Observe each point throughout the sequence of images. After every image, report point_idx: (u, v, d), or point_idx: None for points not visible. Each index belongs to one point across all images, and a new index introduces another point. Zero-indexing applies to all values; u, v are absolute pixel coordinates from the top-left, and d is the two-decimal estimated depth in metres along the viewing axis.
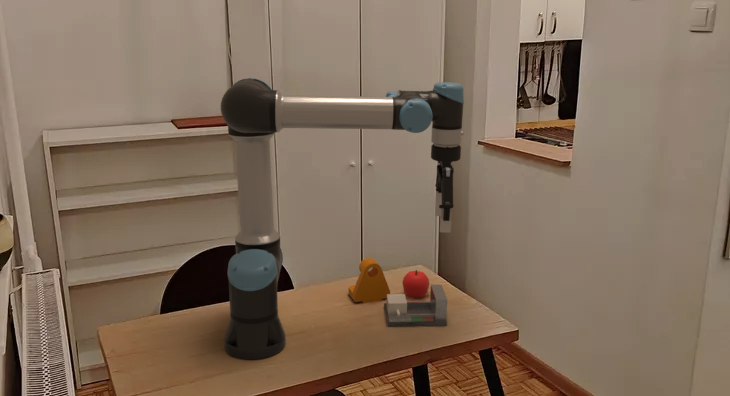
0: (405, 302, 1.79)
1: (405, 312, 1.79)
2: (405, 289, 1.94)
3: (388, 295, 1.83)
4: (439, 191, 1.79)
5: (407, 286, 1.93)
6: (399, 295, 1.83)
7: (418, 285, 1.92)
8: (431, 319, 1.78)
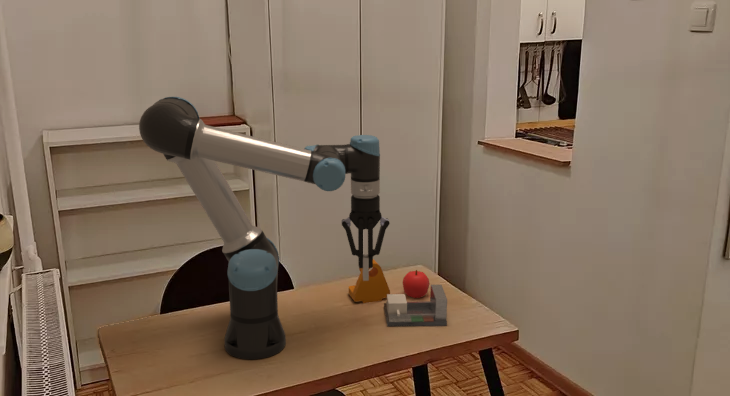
0: (405, 302, 1.79)
1: (405, 312, 1.79)
2: (405, 289, 1.94)
3: (388, 295, 1.83)
4: (368, 254, 1.78)
5: (407, 286, 1.93)
6: (399, 295, 1.83)
7: (418, 285, 1.92)
8: (431, 319, 1.78)
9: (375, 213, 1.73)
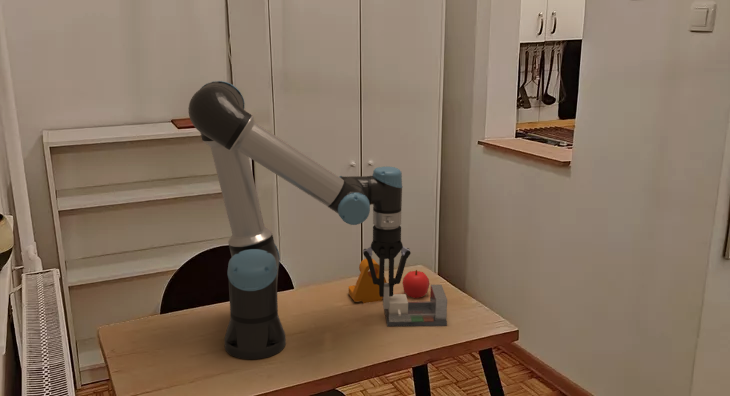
0: (406, 302, 1.79)
1: (406, 312, 1.79)
2: (405, 289, 1.94)
3: None
4: (388, 283, 1.80)
5: (407, 286, 1.93)
6: (400, 295, 1.83)
7: (418, 285, 1.92)
8: (431, 319, 1.78)
9: (396, 243, 1.75)
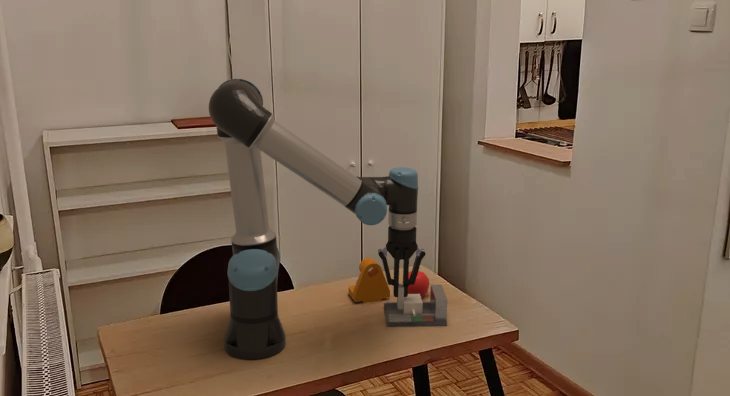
0: (420, 302, 1.79)
1: (420, 312, 1.79)
2: None
3: None
4: (403, 283, 1.80)
5: None
6: (415, 295, 1.83)
7: (418, 285, 1.92)
8: (431, 319, 1.78)
9: (412, 244, 1.76)
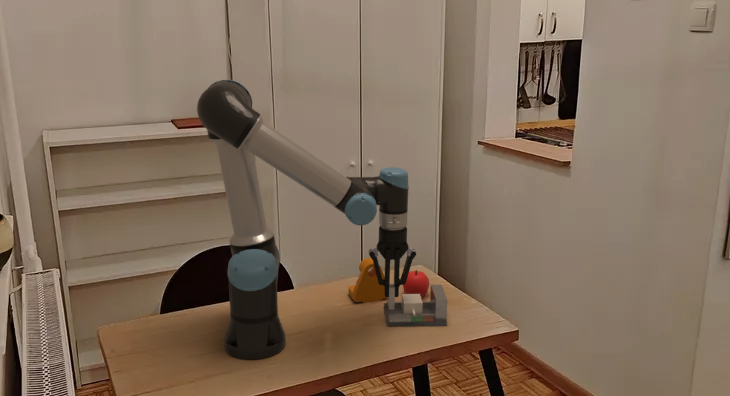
0: (420, 302, 1.79)
1: (420, 312, 1.79)
2: (405, 289, 1.94)
3: (403, 295, 1.83)
4: (394, 284, 1.80)
5: (407, 286, 1.93)
6: (415, 295, 1.83)
7: (418, 285, 1.92)
8: (431, 319, 1.78)
9: (402, 244, 1.76)
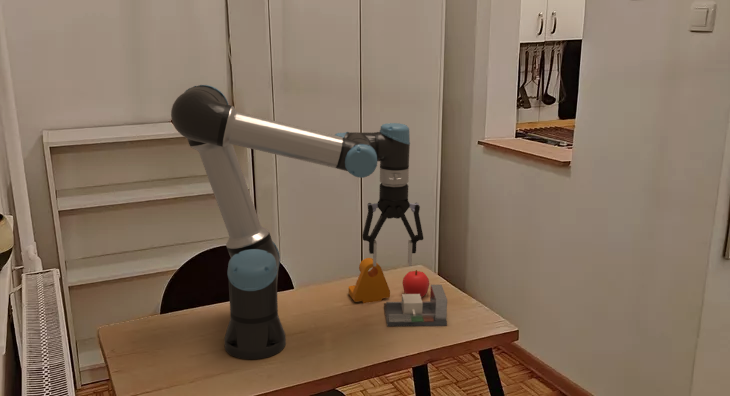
0: (420, 302, 1.79)
1: (420, 312, 1.79)
2: (405, 289, 1.94)
3: (403, 295, 1.83)
4: (411, 239, 1.77)
5: (407, 286, 1.93)
6: (415, 295, 1.83)
7: (418, 285, 1.92)
8: (431, 319, 1.78)
9: (402, 203, 1.72)
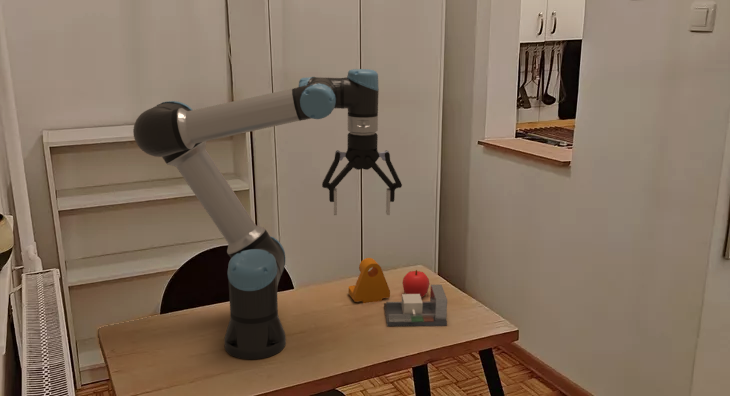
0: (420, 302, 1.79)
1: (420, 312, 1.79)
2: (405, 289, 1.94)
3: (403, 295, 1.83)
4: (389, 187, 1.70)
5: (407, 286, 1.93)
6: (415, 295, 1.83)
7: (418, 285, 1.92)
8: (431, 319, 1.78)
9: (370, 154, 1.65)
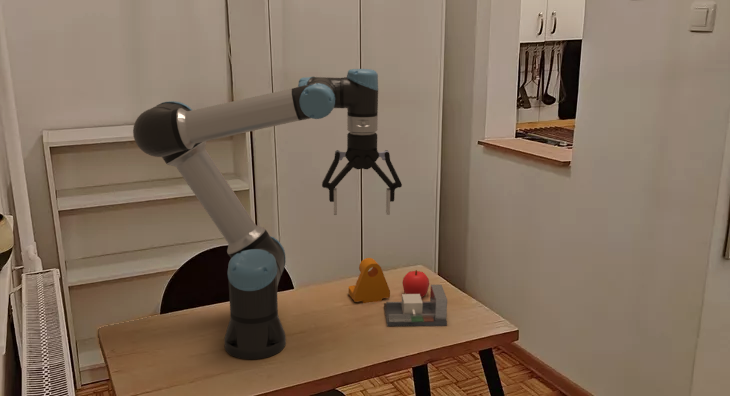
0: (420, 302, 1.79)
1: (420, 312, 1.79)
2: (405, 289, 1.94)
3: (403, 295, 1.83)
4: (389, 187, 1.70)
5: (407, 286, 1.93)
6: (415, 295, 1.83)
7: (418, 285, 1.92)
8: (431, 319, 1.78)
9: (370, 154, 1.65)
